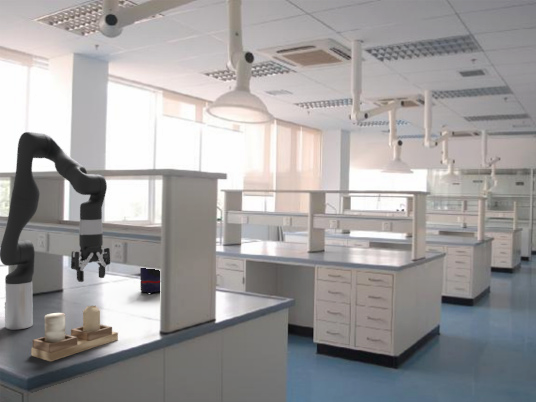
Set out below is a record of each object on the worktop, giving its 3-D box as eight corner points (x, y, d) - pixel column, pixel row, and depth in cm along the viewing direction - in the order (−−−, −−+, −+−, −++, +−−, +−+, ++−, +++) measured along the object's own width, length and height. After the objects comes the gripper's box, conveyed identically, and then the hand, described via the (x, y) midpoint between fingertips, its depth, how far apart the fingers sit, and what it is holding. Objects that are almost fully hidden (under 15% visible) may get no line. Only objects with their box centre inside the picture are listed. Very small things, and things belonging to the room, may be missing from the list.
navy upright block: (168, 292, 253) (168, 233, 253) (147, 295, 245) (147, 235, 245) (155, 288, 264) (154, 232, 263) (134, 291, 256) (134, 233, 255)
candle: (92, 338, 166) (92, 308, 166) (79, 336, 168) (79, 307, 168) (103, 333, 171) (103, 305, 171) (90, 332, 173) (90, 303, 173)
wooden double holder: (31, 355, 156) (30, 316, 156) (99, 335, 178) (98, 300, 178) (50, 361, 151) (50, 320, 151) (117, 339, 173) (117, 304, 173)
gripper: (100, 230, 177) (101, 275, 177) (65, 233, 165) (66, 281, 165) (115, 231, 173) (115, 277, 173) (80, 234, 161) (80, 284, 161)
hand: (91, 279), depth 169 cm, fingers open, 8 cm apart
